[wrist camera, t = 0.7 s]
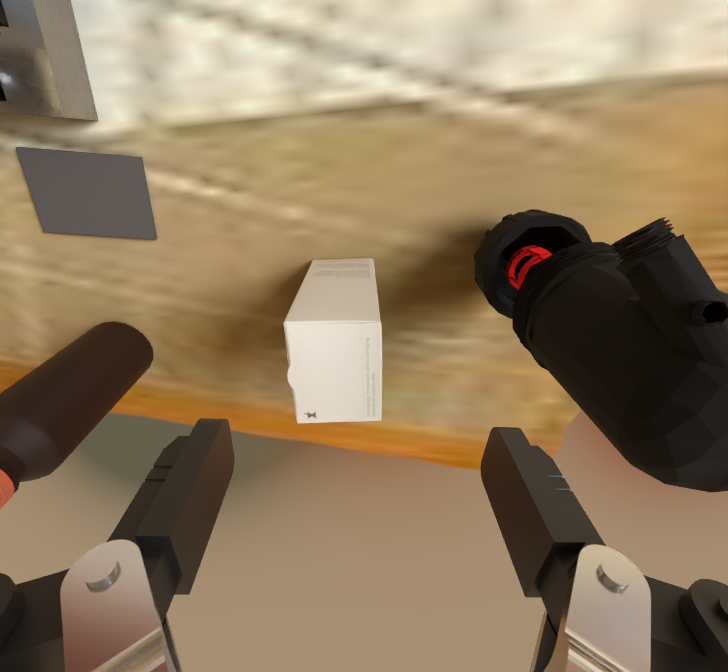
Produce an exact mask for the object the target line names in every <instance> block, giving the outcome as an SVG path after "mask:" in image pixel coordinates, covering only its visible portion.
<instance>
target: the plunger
mask: <svg viewBox="0 0 728 672" xmlns="http://www.w3.org/2000/svg"><path fill="white" fill-rule="evenodd" d="M2 94H4V90H3V87H2V84H1V81H0V95H2Z"/></svg>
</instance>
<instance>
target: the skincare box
mask: <svg viewBox="0 0 728 672" xmlns="http://www.w3.org/2000/svg"><path fill="white" fill-rule="evenodd" d="M283 326H284V331H285V340H286V349H287V357H288V366H289V368H288V372H287V378H288V382H289V384H290V386H291V387H292V394H293V401H294V408H295V415H296V420H297V423H320V422H351V421H381V415H382V326H381V321H380V312H379V303H378V294H377V285H376V277H375V268H374V261H373V259H372V258H358V259H327V260H312V263H311V265H310V267H309V269H308V272H307V274H306V276H305V278H304V280H303V282H302V284H301V287H300V289H299V291H298V293H297V295H296V297H295V299H294V301H293V304H292V306H291V308H290V310H289V312H288V314H287V316H286V319H285V321H284V323H283Z"/></svg>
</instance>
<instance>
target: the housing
mask: <svg viewBox="0 0 728 672" xmlns="http://www.w3.org/2000/svg"><path fill="white" fill-rule="evenodd" d="M1 1H2V5H3V8H4V11H5V15H6V18H7V22H8V25H9V27H3V26H0V81H1V84H2V87H3V90H4V94H2V95H0V112H6V113H18V114H29V115H40V116H51V117H63V118H74V119H85V120H96V121H98V118H97V113H96V109H95V105H94V100H93V96H92V92H91V87H90V83H89V79H88V74H87V70H86V66H85V61H84V57H83V53H82V48H81V44H80V39H79V35H78V31H77V26H76V22H75V18H74V13H73V9H72V5H71V0H1Z"/></svg>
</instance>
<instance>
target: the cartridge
mask: <svg viewBox="0 0 728 672" xmlns="http://www.w3.org/2000/svg"><path fill="white" fill-rule="evenodd" d="M0 23H3V24H8V22H7V18H6V15H5V11H4V8H3V5H2V1H1V0H0Z"/></svg>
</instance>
